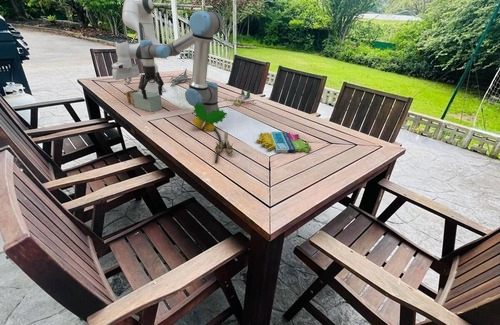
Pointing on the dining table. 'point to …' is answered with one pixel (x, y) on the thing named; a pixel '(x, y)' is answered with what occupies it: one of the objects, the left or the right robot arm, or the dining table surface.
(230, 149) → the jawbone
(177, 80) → the airplane
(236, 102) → the toy
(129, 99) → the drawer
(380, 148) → the dining table surface
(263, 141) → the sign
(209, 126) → the ornament
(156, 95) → the grey-green rectangular block
